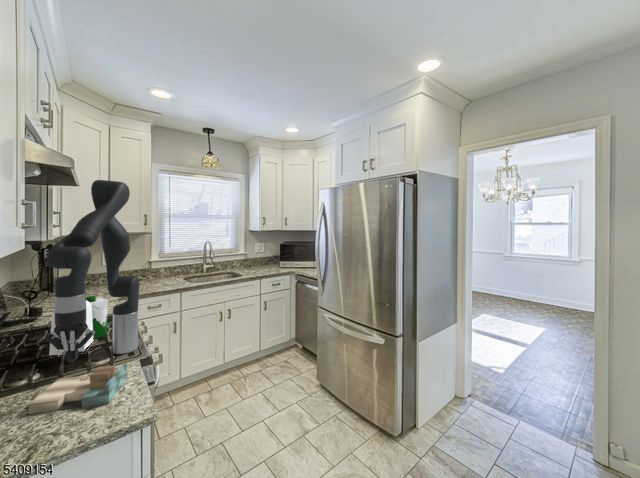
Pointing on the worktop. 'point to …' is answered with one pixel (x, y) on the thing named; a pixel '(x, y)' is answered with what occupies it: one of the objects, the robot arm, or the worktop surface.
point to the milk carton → (99, 315)
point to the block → (101, 377)
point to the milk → (90, 326)
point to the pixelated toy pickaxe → (77, 393)
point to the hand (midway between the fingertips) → (71, 360)
